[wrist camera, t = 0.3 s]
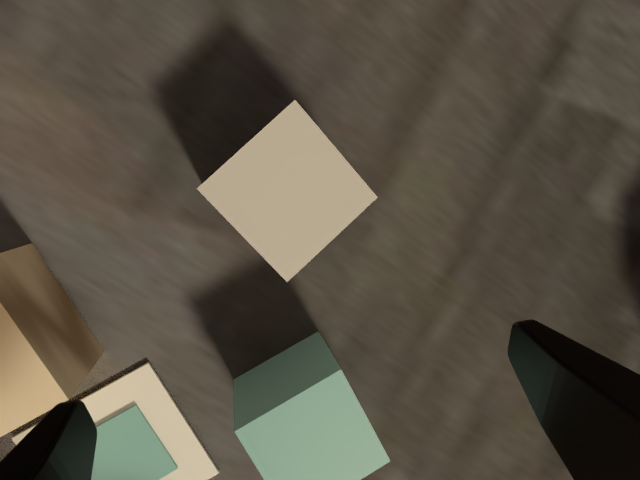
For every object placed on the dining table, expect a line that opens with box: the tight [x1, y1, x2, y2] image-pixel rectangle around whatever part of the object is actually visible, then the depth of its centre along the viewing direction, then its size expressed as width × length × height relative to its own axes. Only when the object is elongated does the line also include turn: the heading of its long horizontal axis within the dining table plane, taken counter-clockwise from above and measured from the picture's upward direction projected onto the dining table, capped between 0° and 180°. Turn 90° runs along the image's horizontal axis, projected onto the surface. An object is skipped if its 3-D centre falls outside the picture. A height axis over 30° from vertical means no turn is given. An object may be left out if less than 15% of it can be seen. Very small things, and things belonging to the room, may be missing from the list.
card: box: [11, 362, 219, 480], centre depth 22 cm, size 7×7×1 cm
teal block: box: [233, 331, 390, 480], centre depth 21 cm, size 5×5×5 cm
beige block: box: [197, 100, 377, 282], centre depth 20 cm, size 5×5×5 cm
